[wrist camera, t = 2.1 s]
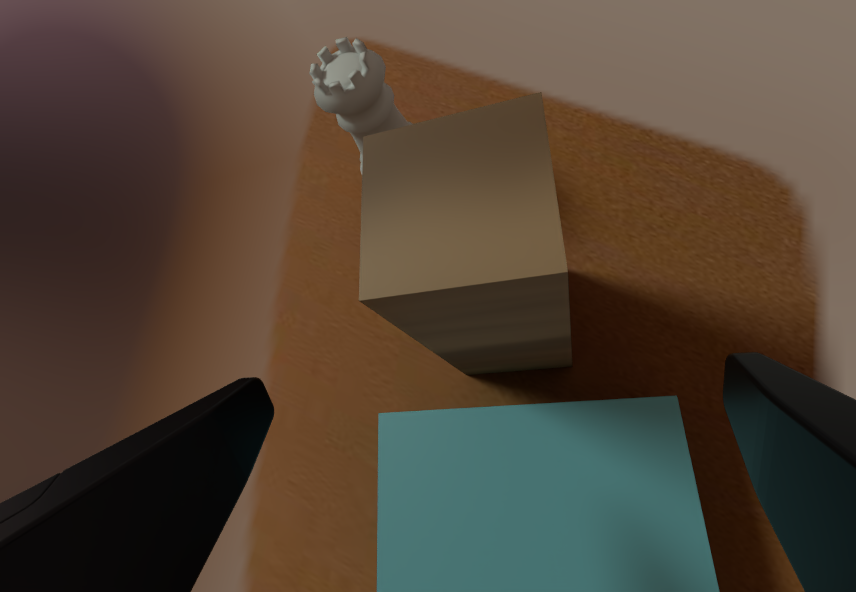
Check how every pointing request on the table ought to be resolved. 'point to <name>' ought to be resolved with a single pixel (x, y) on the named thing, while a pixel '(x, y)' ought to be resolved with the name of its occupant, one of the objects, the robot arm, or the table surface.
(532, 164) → the tan wooden block
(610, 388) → the table surface
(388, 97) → the rook chess piece
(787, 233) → the table surface
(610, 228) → the table surface
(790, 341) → the table surface
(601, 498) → the base block
